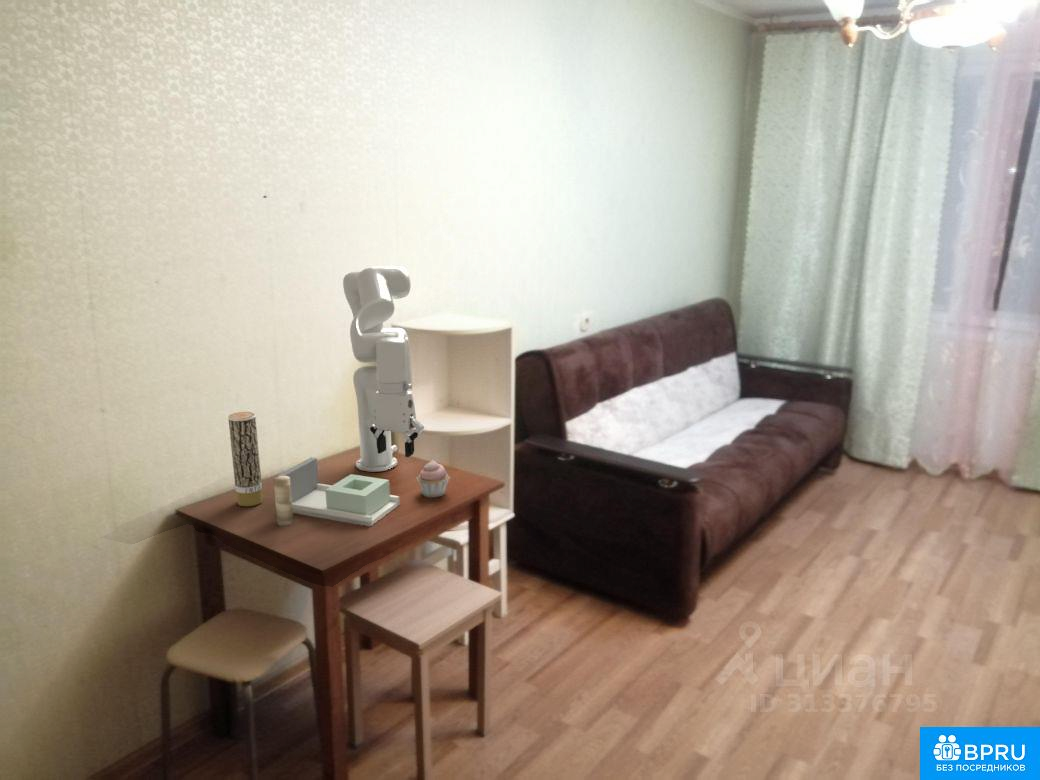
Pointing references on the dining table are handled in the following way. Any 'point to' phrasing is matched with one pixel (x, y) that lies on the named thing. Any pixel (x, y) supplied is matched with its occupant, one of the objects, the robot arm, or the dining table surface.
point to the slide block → (358, 494)
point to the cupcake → (433, 480)
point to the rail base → (324, 497)
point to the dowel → (283, 500)
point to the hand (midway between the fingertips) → (395, 453)
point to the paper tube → (245, 458)
